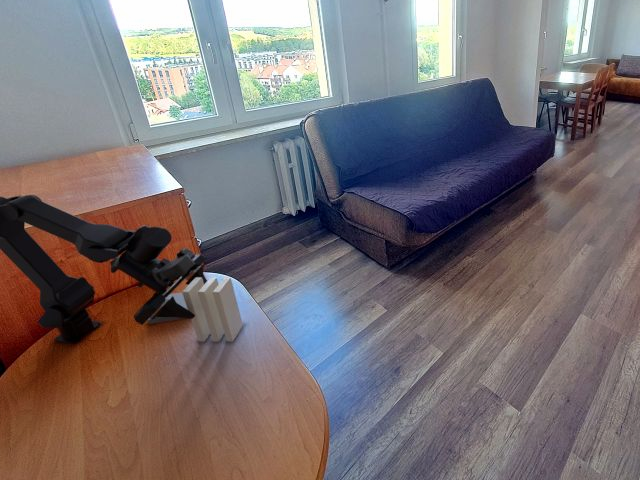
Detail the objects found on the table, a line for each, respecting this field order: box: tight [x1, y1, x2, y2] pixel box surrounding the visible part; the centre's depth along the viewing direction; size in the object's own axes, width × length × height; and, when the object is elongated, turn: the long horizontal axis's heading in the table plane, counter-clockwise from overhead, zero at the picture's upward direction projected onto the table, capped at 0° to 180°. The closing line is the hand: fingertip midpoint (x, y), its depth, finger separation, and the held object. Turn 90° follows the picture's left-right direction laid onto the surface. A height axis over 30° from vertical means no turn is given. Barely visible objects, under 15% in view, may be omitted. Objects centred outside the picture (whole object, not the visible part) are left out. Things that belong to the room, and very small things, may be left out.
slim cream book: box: [181, 277, 211, 342], centre depth 84 cm, size 2×5×16 cm, turn 0°
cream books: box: [198, 276, 244, 342], centre depth 84 cm, size 5×5×16 cm
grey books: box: [146, 291, 188, 325], centre depth 93 cm, size 11×8×3 cm
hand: (204, 304), depth 83 cm, fingers open, 7 cm apart
